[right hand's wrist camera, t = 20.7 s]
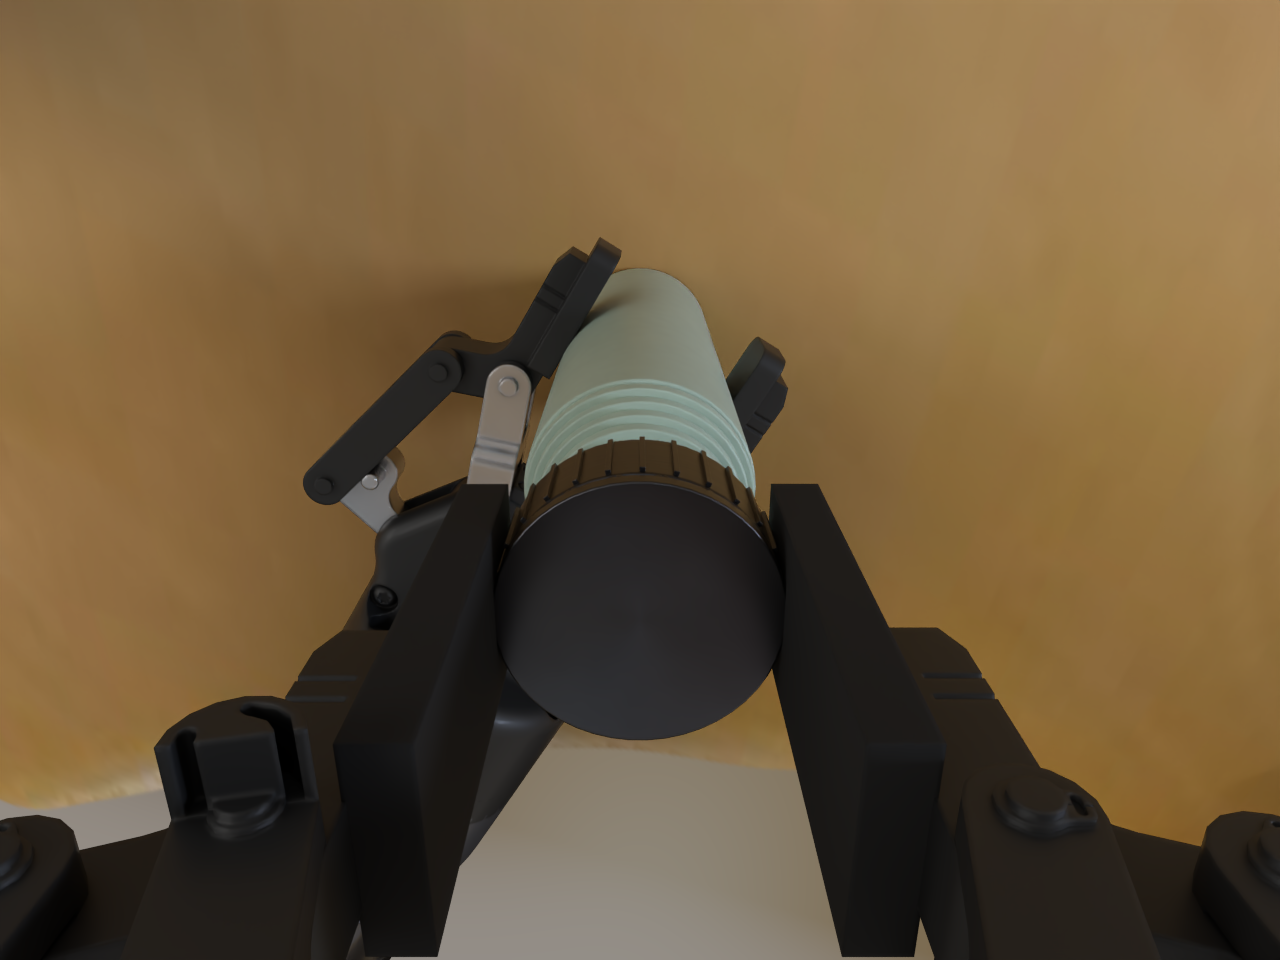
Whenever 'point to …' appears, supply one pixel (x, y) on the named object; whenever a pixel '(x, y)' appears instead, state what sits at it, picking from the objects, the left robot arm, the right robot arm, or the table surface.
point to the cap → (639, 591)
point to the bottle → (641, 380)
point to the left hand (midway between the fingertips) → (689, 300)
